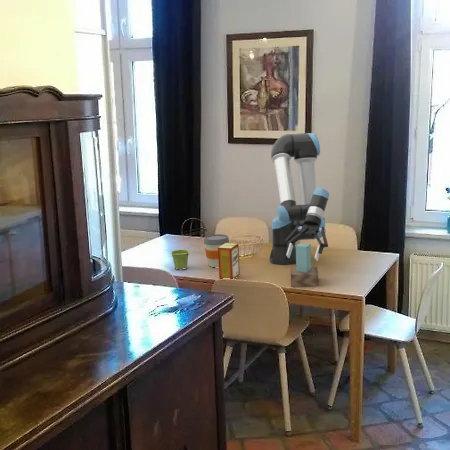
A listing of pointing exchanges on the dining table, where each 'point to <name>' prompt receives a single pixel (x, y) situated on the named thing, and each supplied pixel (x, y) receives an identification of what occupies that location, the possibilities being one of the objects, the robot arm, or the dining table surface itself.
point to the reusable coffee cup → (214, 247)
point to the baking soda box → (228, 260)
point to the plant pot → (180, 258)
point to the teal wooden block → (303, 257)
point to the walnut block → (304, 278)
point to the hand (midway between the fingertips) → (301, 258)
